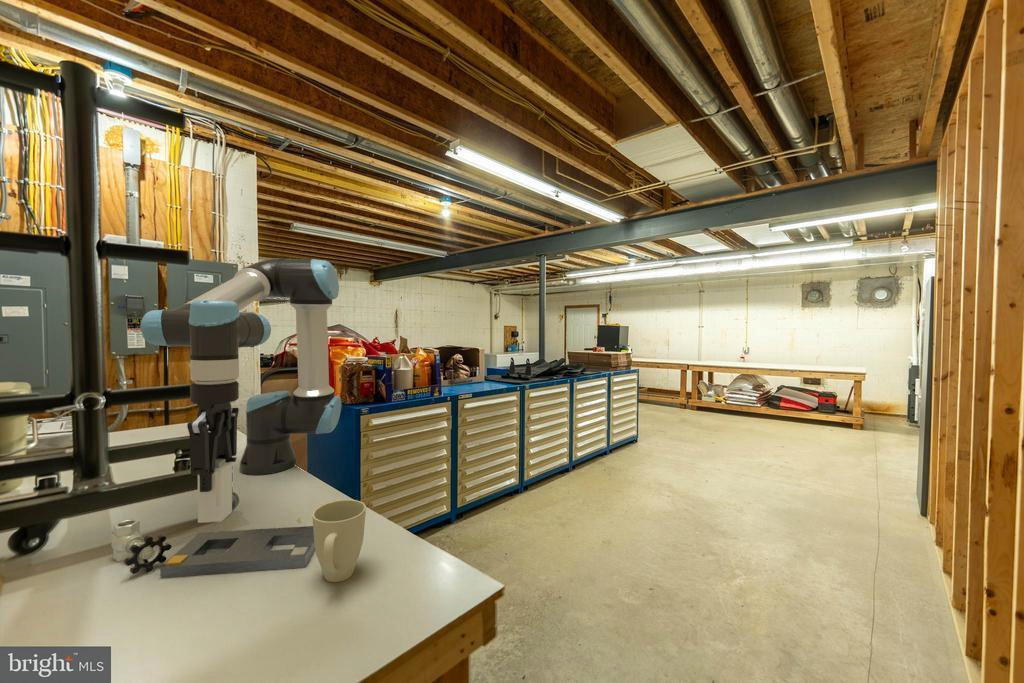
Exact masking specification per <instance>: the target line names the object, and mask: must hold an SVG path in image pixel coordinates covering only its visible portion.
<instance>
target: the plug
mask: <svg viewBox="0 0 1024 683" xmlns="http://www.w3.org/2000/svg"><path fill="white" fill-rule="evenodd" d="M214 472H218V506H217V507H211V508H199V475H197V523H198V524H203V523H217V522H218V523H220V522H223V521H224V520H225V519H226V518H228V516H230V514H231V513H233V462H230V463H225V459H216V462H215V471H214Z"/></svg>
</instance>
